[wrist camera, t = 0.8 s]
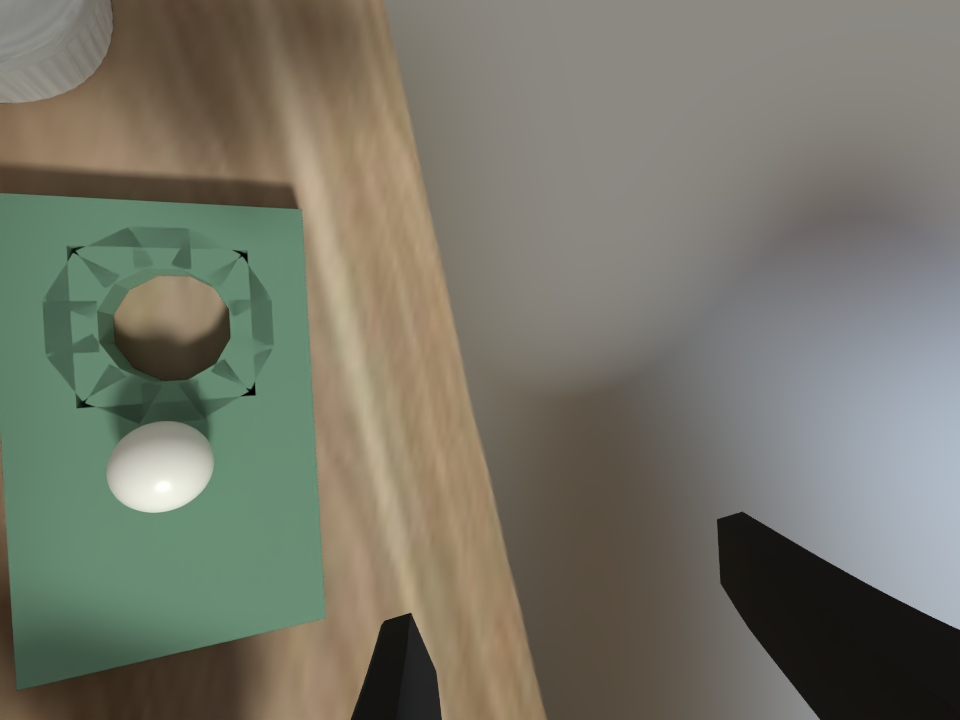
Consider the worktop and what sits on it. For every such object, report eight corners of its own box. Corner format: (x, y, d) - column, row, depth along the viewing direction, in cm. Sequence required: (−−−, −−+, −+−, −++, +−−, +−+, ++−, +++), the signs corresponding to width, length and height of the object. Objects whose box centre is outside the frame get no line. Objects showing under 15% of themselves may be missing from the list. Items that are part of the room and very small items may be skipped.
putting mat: (324, 601, 27) (325, 618, 25) (40, 664, 23) (16, 690, 21) (302, 220, 27) (301, 209, 25) (11, 206, 23) (-15, 192, 21)
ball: (160, 516, 23) (132, 545, 19) (105, 449, 22) (65, 466, 18) (237, 465, 24) (225, 483, 20) (188, 400, 23) (166, 407, 19)
